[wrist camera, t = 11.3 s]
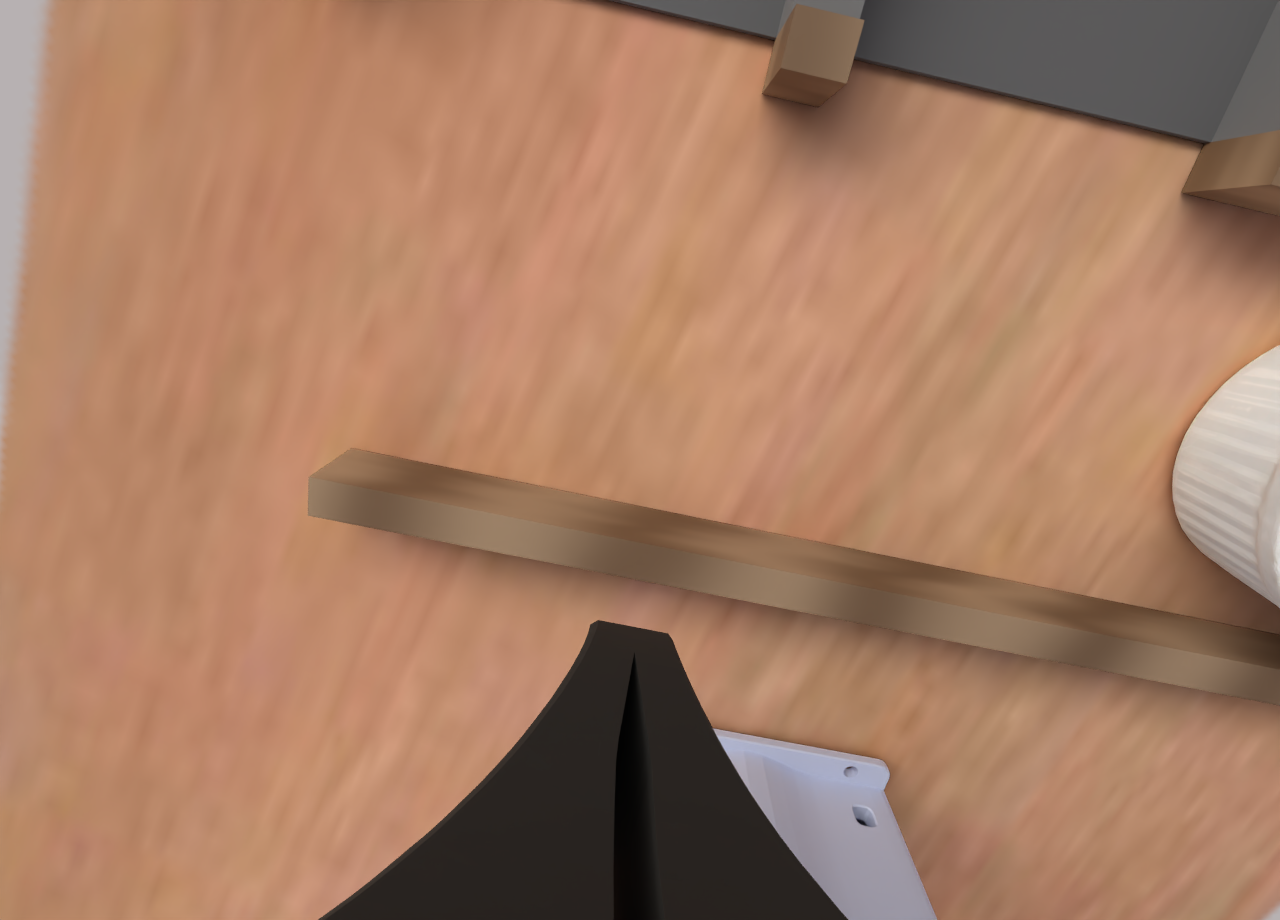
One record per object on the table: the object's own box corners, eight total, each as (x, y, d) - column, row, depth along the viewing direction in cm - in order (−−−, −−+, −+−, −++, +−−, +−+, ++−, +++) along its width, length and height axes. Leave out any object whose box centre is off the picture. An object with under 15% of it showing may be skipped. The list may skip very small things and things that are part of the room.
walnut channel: (1640, 247, 16) (1888, 249, 13) (1327, 677, 21) (1451, 757, 18) (375, -56, 15) (296, -141, 12) (349, 482, 20) (287, 531, 16)
